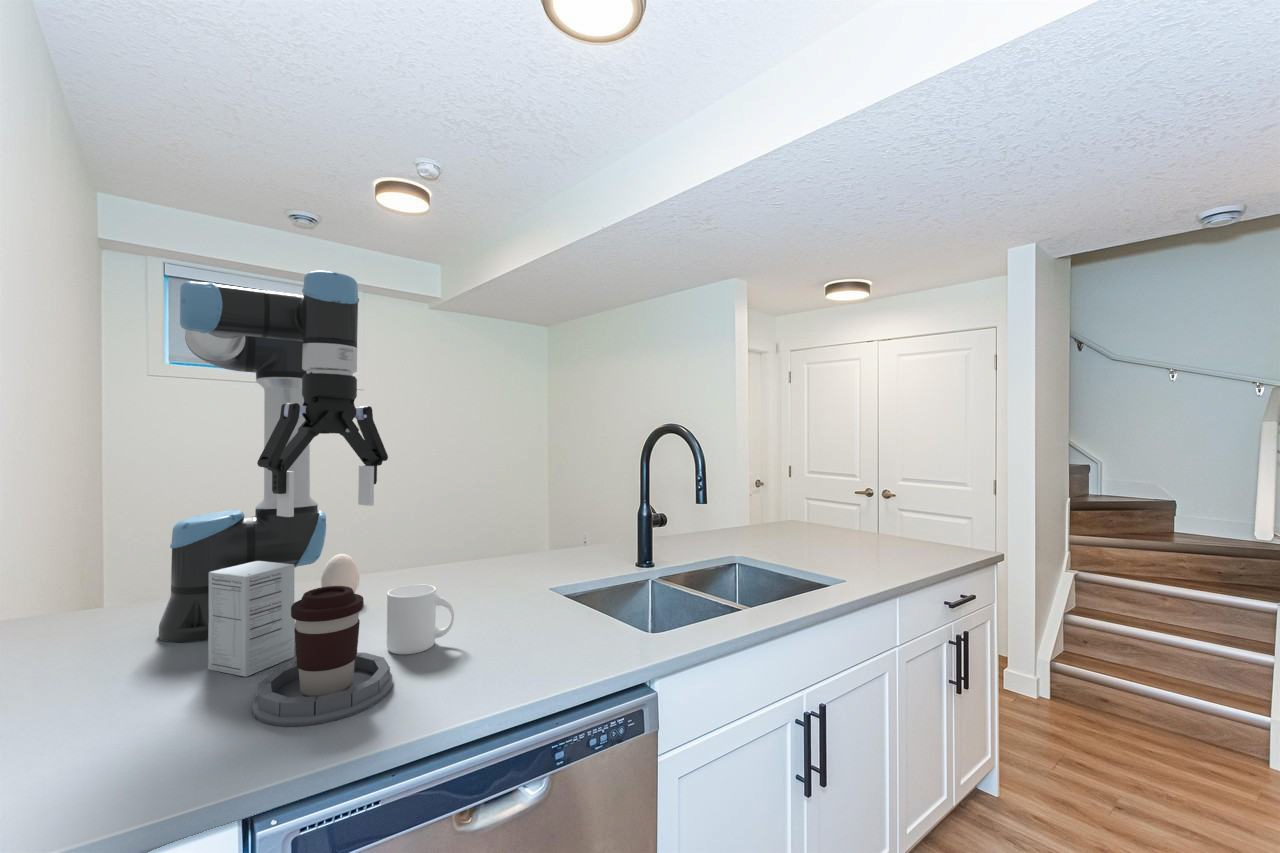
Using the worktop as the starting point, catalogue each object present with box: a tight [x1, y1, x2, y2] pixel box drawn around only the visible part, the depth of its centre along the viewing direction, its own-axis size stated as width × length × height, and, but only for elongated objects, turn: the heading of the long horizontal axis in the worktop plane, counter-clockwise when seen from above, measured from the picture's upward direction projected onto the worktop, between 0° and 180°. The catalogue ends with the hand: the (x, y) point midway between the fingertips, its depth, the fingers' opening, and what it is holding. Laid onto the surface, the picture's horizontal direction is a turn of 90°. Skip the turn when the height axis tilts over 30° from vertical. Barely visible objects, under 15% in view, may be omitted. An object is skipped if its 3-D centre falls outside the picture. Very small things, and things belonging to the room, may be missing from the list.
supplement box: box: [207, 561, 296, 678], centre depth 100 cm, size 10×9×17 cm
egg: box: [320, 553, 360, 594], centre depth 134 cm, size 8×8×11 cm
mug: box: [386, 583, 455, 656], centre depth 109 cm, size 9×12×11 cm
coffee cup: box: [291, 586, 364, 697], centre depth 89 cm, size 10×10×15 cm
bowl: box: [251, 652, 393, 728], centre depth 89 cm, size 19×19×3 cm
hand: (328, 510), depth 89 cm, fingers open, 13 cm apart
